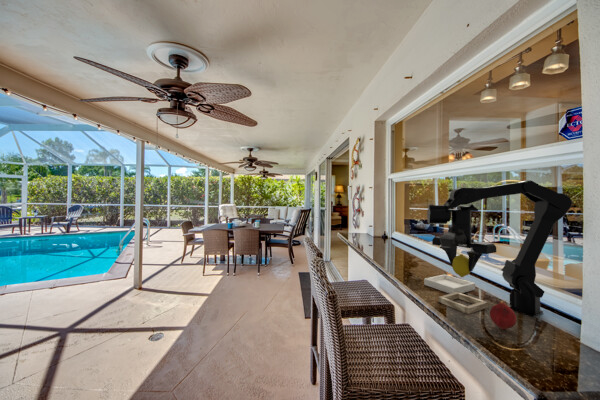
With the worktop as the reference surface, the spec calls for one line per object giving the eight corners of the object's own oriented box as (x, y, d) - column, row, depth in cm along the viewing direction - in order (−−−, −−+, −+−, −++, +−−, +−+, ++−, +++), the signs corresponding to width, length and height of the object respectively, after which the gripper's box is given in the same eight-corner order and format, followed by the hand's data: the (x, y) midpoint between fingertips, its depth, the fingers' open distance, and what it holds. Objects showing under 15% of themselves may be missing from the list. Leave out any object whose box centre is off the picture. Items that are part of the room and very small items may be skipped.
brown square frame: (487, 307, 83) (487, 302, 83) (468, 314, 78) (468, 308, 78) (457, 296, 92) (457, 291, 92) (438, 301, 88) (438, 296, 88)
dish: (475, 289, 99) (475, 283, 99) (454, 295, 93) (454, 288, 93) (444, 280, 111) (444, 274, 111) (424, 284, 105) (424, 278, 105)
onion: (518, 337, 65) (518, 307, 65) (491, 331, 68) (490, 302, 68) (514, 327, 70) (513, 299, 70) (488, 322, 73) (488, 295, 73)
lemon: (475, 279, 82) (475, 256, 82) (458, 280, 82) (458, 256, 82) (464, 274, 88) (464, 252, 88) (449, 274, 88) (448, 252, 88)
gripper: (421, 223, 90) (422, 265, 90) (475, 228, 73) (476, 280, 73) (441, 221, 95) (442, 261, 95) (497, 226, 78) (497, 275, 78)
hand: (461, 269), depth 85 cm, fingers closed on lemon, 6 cm apart
